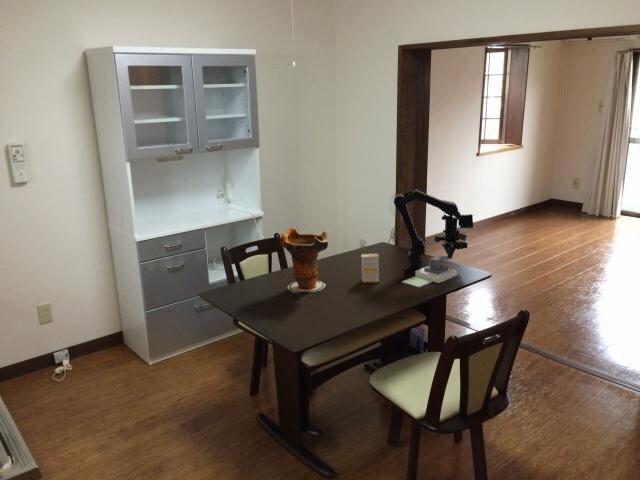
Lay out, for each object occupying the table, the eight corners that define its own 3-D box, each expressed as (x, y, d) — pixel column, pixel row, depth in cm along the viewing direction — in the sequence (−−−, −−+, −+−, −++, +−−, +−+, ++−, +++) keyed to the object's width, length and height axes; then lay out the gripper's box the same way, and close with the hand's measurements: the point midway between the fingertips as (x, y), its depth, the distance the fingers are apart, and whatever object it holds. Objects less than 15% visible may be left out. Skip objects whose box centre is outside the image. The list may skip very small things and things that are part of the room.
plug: (424, 275, 263) (424, 258, 261) (434, 271, 268) (434, 255, 266) (437, 279, 257) (438, 262, 255) (447, 275, 262) (448, 258, 260)
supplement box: (379, 279, 262) (378, 253, 259) (379, 282, 258) (378, 256, 254) (361, 279, 263) (361, 253, 259) (361, 282, 258) (361, 256, 255)
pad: (402, 283, 256) (402, 281, 256) (415, 277, 262) (415, 276, 262) (418, 288, 248) (418, 286, 248) (432, 282, 255) (432, 281, 254)
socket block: (415, 276, 263) (415, 270, 262) (433, 269, 272) (433, 264, 271) (439, 283, 253) (439, 277, 252) (456, 276, 262) (457, 270, 261)
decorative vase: (328, 294, 244) (322, 234, 237) (279, 295, 249) (272, 236, 242) (336, 279, 264) (331, 223, 256) (290, 280, 268) (284, 225, 261)
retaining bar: (429, 266, 267) (429, 259, 266) (427, 265, 268) (427, 258, 267) (451, 262, 272) (451, 255, 271) (448, 261, 273) (449, 254, 272)
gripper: (476, 229, 261) (475, 260, 265) (451, 222, 278) (451, 251, 282) (458, 233, 257) (457, 264, 261) (434, 225, 273) (433, 255, 277)
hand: (450, 258), depth 270 cm, fingers closed
